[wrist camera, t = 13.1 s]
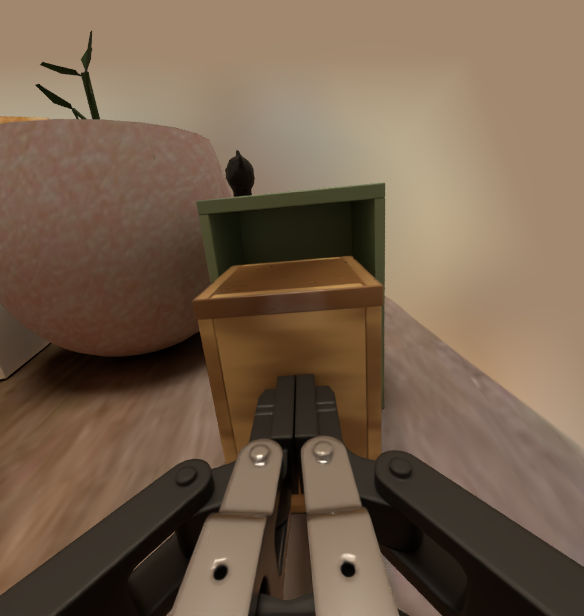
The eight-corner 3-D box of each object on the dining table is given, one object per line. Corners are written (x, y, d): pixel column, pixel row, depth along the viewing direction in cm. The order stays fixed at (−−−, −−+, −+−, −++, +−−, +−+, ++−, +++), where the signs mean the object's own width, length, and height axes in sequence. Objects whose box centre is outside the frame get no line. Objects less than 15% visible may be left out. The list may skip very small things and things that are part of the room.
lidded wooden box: (356, 414, 21) (351, 255, 18) (382, 511, 14) (383, 285, 11) (254, 420, 22) (231, 265, 18) (234, 517, 15) (191, 300, 11)
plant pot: (79, 325, 45) (1, 87, 36) (241, 300, 50) (210, 86, 41) (-44, 432, 23) (-335, -122, 14) (269, 367, 28) (215, -65, 19)
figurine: (210, 292, 58) (184, 145, 50) (236, 276, 70) (218, 156, 62) (268, 290, 55) (250, 136, 48) (284, 274, 68) (271, 149, 60)
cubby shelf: (360, 350, 30) (357, 190, 25) (383, 409, 21) (385, 182, 17) (253, 357, 31) (231, 202, 26) (233, 416, 22) (195, 200, 17)
